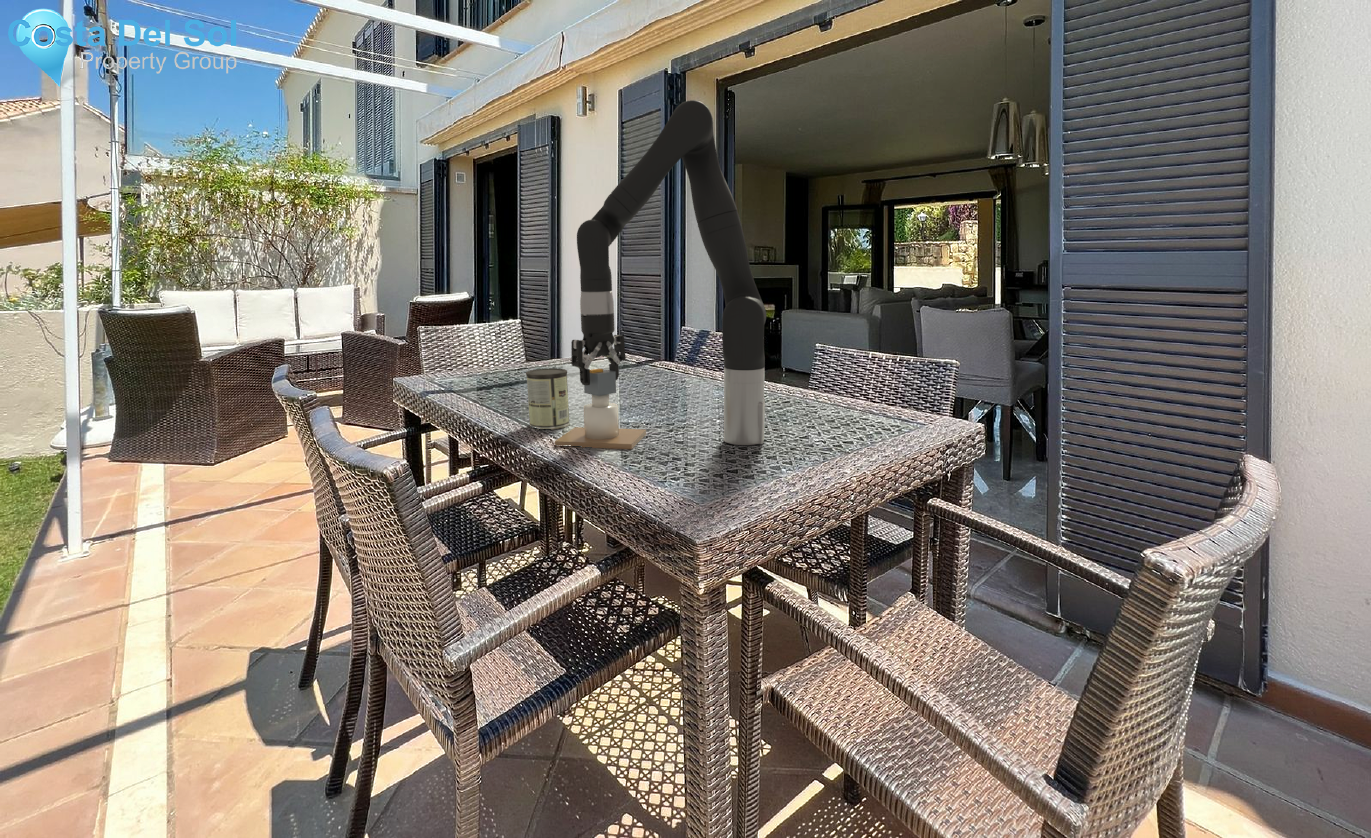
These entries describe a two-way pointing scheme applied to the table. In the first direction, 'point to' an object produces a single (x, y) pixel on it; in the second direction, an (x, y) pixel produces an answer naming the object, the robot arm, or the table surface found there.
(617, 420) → the board with white bottle
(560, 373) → the coffee can
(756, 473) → the table surface
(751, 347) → the robot arm
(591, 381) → the grey cube with tab
